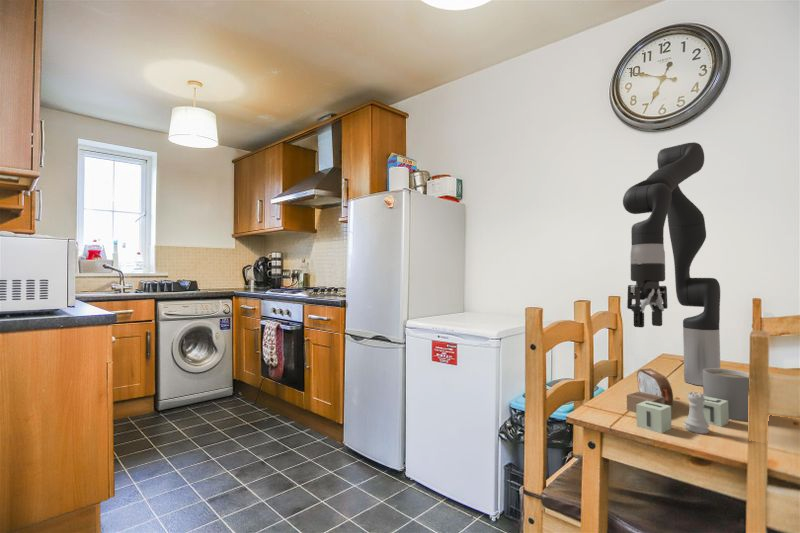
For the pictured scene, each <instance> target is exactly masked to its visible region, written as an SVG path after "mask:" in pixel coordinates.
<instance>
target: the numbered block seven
mask: <svg viewBox="0 0 800 533" xmlns="http://www.w3.org/2000/svg"><path fill="white" fill-rule="evenodd" d="M703 397H704V398H705V399H706V400H705V401H704V402H703V405H704V407H703V412H704V417H705V420H706V422H707V423H708V425H712V426H714V427H715V426H716V427H720V428H721V427H723V426H725V425H727V424H728V423H730V422H729V420H730V419H729V417H728V401H727V400H722V399H717V398H712V397H707V396H703Z"/></svg>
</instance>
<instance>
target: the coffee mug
mask: <svg viewBox="0 0 800 533" xmlns="http://www.w3.org/2000/svg"><path fill="white" fill-rule="evenodd" d="M749 373H750V372H747V371H742V370H737V369H730V368H729V369H728V368H721V367H720V368H707V369H703V386H702V389H703V390H702V392H703V393H702V394H703V396H707V397H712V398H717V399H722V400H727V401H728V417H729V420H730V419H731V421H738V420H739V422H741V421H740V420H744V421H743V422H749V421H748V391H749Z"/></svg>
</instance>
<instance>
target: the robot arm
mask: <svg viewBox="0 0 800 533" xmlns="http://www.w3.org/2000/svg"><path fill="white" fill-rule="evenodd" d="M656 158H657V159H656V160H657V161H656V163H657V169H656V170H655V171H653V172H652V173H651V174H650V175H649V176H648V177H647V178H646V179H644V180H642V181H640V182H637V183H635V184H634V185H632V186H630V187H629V188H628V189H627V191H625V193H624V195H623V196H622V205H623V208H624V210H625V211H626V212H628V213H629V214H633V215H640V214H647V213H648V214H649V213H650V215H649V217H647V218H646V219H644V220H641V221H637V222H636V223H634V224H633V225H632V226H631V236H630V237H631V247H630V248H631V249H630V281H632V282H636V283H635V284H628V286H627V300H626V301H627V302H626V304H627V306H626V307H627V310H630V311H631V312H633V326H634V327H635V328H644V327H645V309H646V307H647V306H648V305H649V306H650V308H651V325H652V326H653V327H661V326H663V312H664V311H665V309H668V290H667V289H668V288H667V285H660V283H661V282H665V281H666V252H665V246H664V243H665V242H664V232H665V231H664V229H665V224H666V218H667V224H668V225H667V226H668V230H669V231H668V233H669V239H670V244H671V248H672V256H673V262H674V263H673V264H674V265H673V266H674V278H675V279H674V282H675V283H674V284H675V292H676V293H675V294H676V298H677V301H678V303H679V305H681V306H684V307H696V308H697V307H698V308H703V311H702V312H701V313H699V314H697V315H693V316H688V317H685V318H684V319H683V320H682V329H683V330H682V331H683V332H682V333H683V334H682V336H683V340H682V341H683V378H684V380H683V381H684V382H685V383H687V384H691V385H696V386H702V387H703V369H707V368H720V369H721V341H720V339H721V338H720V318H721V317H720V315H721V314H720V312H721V311H720V310H721V308H720V307H721V284H720V282H719V281H718V280H717V279H716V278H714V277H691V275H690V271H691V266H692V263H693V261H694V259H695V258H696V256H697V254H699V253H698V252H699V251H700V250H701V248H702V246H703V245H704V243H705V241H706V239H707V229H706V221H705V217H704V214H703V212H702V211H701V210H700V208H698V206H696V204H694V202H693V201H691V200H690V199H689V198H688V197H687V196H686V195H685V193H684V192H683V191H682V190H681V188H680V184H682V182H684V181H686V180H687V179H689V178H690V177H692V176H693V175H695V174H697V173H698V172H700V171H701V170H702V168H703V167H704V164H705V153H704V149H703V147H702V145H701V144H700V143H699V142H686V143H682V144H677V145H674V146H669V147H665V148H662V149H660V150H659V151H658V153H657V157H656Z"/></svg>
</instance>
